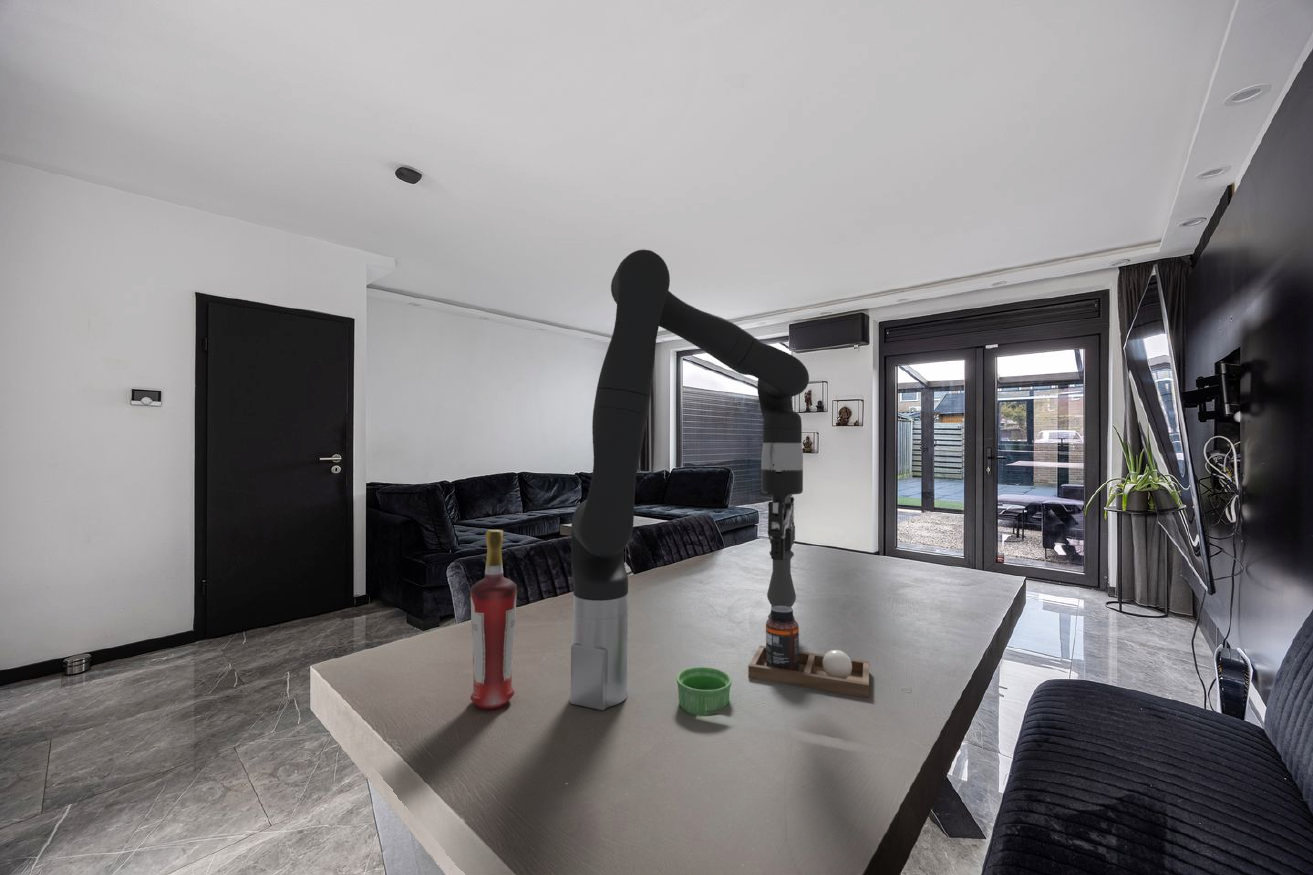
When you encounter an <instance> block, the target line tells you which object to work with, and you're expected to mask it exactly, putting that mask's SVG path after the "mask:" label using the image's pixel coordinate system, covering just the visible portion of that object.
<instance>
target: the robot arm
mask: <svg viewBox="0 0 1313 875" xmlns="http://www.w3.org/2000/svg"><path fill="white" fill-rule="evenodd" d="M670 282H671V278H670V271H669V268H668V265H667V264H666V261H665V260H664V259H663V257H662V256H661V255H660V254H658V253H657V252H656V251H653V250H651V249H645V248H642V249H638V250H635V251H633V252H631V253H630V254H628V255H627V256H625V257H624V258H623V260H622V261H621V262H620V263H619V264H618V267H617V269H616V271H615V272H614V275H613V277H612V279H611V284H610V291H611V292H610V293H611V296H612V298H613V301H614V302H615V304H616V313H615V322H614V327H613V332H612V335H611V338H610V342H609V345H608V347H607V350H606V353H605V355H604V359H603V361H602V362H603V363H602V366H601V369H600V373H599V378H598V382H597V387H596V390H595V398H594V404H593V410H592V411H593V412H592V421H591V422H592V423H591V424H592V426H591V428H592V429H591V430H592V452H593V453H592V454H593V467H592V468H593V469H592V475H591V480H590V485H589V490H588V493H587V498H586V499H585V500H584V501H582V502H581V503H580V504H578V506H577V507H576V509H575V511H574V513H573V515H572V519H571V528H570V529H571V531H570V535H571V536H570V538H571V540H570V542H571V543H570V545H571V547H570V550H571V551H570V553H571V576H572V582H573V583H572V584H573V588H572V589H573V592H572V594H573V595H572V596H573V606H572V607H573V609H572V612H573V614H572V616H573V617H572V644H571V646H570V696H569V698H570V700H569V702H570V704H572V705H577V706H581V707H584V708H585V707H586V708H589V709H596V710H600V711H605V710H606V709H607V708H611V707H612V706H613V707H614V706H617V705H619V704H621V703H623V701H625V700H626V699H627V697H628V659H629V658H628V652H629V651H628V649H629V647H628V645H629V643H628V642H629V640H628V639H629V635H628V634H629V632H628V631H629V630H628V629H629V624H628V623H629V578H628V573H627V570H626V565H625V559H624V557H625V556H624V555H625V554H624V553H625V551H624V549H625V548H626V547H627V546H628V544H629V542H630V540H631V538H632V535H633V531H634V523H635V521H634V519H635V496H636V481H637V473H638V468H639V462H640V457H641V454H642V448H643V443H644V437H645V430H646V424H647V420H648V415H649V408H650V401H651V394H652V386H653V377H654V368H655V361H656V360H655V357H656V348H657V347H656V346H657V345H656V344H657V337H658V332H659V328H662V329H664V330H666V331H668V332H670V333H672V334H673V335H676V336H678V337H679V338H681V339H683V340H685V341H687V342H689V343H690V344H692V345H693V346H696V347H697V348H699V349H700V350H702V351H703V352H705V353H706V354H708V355H709V356H711V357H712V358H714V359H716V360H718V362H720V363H721V364H723V365H725V366H726V367H727V368H729V369H731V370H733V371H734V372H735V373H738V374H741V375H744V376H752V377H754V378H756V379H757V385H756V386H757V389H756V390H757V397H758V402H759V407H760V412H761V416H762V428H763V429H762V450H761V458H760V459H761V461H760V462H761V465H760V466H761V471H760V473H761V475H760V476H761V477H760V479H761V484H760V485H761V488H760V489H761V492H762V493H764V494H771V495H772V501H769V502H768V503H767V506H768V512H767V513H768V515H767V516H768V517H767V518H768V520H767V535H768V537H769V536H770V538H771V543H770V551H771V555H770V558H771V559H772V561H773V560H783V559H784V551H787V552H789V551H790V550H791V551H792V548H791V532H790V531H792V530H793V526H794V525H795V522H794V520H795V519H794V518H795V514H794V513H795V512H794V510H795V503H794V502H795V497H794V496H793V495H800V494H802V493H803V492H804V453H803V452H804V451H803V447H802V446H803V444H802V443H803V442H802V436H803V435H802V433H803V432H802V430H803V428H802V427H803V426H802V417H801V415H800V414H799V413H798V412H796V411H795V410H794V408H793V400H792V397H797V396H798V395H800V394H802V393H803V392H804V391H805V390H806V389H807V387H808V385H809V381H810V376H809V372H808V369H807V367H806V366H805V364H804V363H803V362H802V361H801V360H800V359H798V358H797V357H795V356H794V355H792V354H790V353H788V352H786V351H784V350H781V349H779V348H777V347H775V346H773V345H769V344H767V343H764V342H762V341H760V340H759V339H758V338H756V337H755V336H753V335H752V334H751V333H749V332H748V331H746V330H744V328H742V327H740V326H739V325H737V324H735V323H734V322H733V321H730V320H728V319H726V318H724V317H721V316H719V315H716V314H714V313H711V312H708V311H705V310H703V309H700V308H699V307H698V308H697V307H696V306H693V305H691V304H689V303H687V302H686V301H684V300H682V299H680V298H679V297H678V296H676V295H674V294H673V293H672V292H671V291H670V290H669V288H670V285H671V284H670ZM775 528H778V529H779V530H776V529H775Z"/></svg>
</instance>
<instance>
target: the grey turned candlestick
mask: <svg viewBox="0 0 1313 875" xmlns="http://www.w3.org/2000/svg"><path fill="white" fill-rule="evenodd" d="M775 529H776V530H779V529H778V528H775ZM790 532H791V550H790V551H789V552H787V551H784V559H783V560H773V559H772V573H771V575H770V576H771V577H770V581H769V586H768V590H767V595H766V596H767V597H766V598H767V600H768V602H769V604H770V605H771V606H770V609H771V608H772V607H774V606H787V607H790V608H792V607H793V606H794V604H795V602H796V599H797V595H796V590H795V586H794V582H793V577H792V572H791V571H792V570H791V568H792V566H791V564H792V563H791V562H792V561H791V559H792V558H793V557H794V555H795V554H794V552H793V551H792V547H793V545H794V543H795V542H794V541H796V525H795V524H794V526H793V530H792V531H790ZM768 540H769V543H770V544H771V538H770V536H768ZM769 556H771V550H770V551H769ZM769 618H771V611H770V612H769V614H768V616H767V619H769ZM793 619H794V620H795V621H796V618H795V616H794V615H793Z"/></svg>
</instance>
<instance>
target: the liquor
mask: <svg viewBox="0 0 1313 875" xmlns="http://www.w3.org/2000/svg"><path fill="white" fill-rule="evenodd" d="M503 542H504V530H503V529H490V530H489V529H488V530H485V543H486V549H487V552H486V559H485V561H486V562H485V569H484V578H482V579H480V580H478V581H476V583H474V584H473V585H472V586H471V587H470V593H469V594H470V621H471V622H470V623H471V625H470V626H471V636H472V637H471V638H472V639H471V640H472V667H473V668H472V669H473V670H472V672H473V676H472V678H473V683H472V684H473V685H472V686H473V691H472V692H471V695H470V701H471V702H473V704H474V705H476V706H477V707H478V708H480V709H481V710H489V711H490V710H496V709H499V708H502V707H503V706H505V705H506V704H507V703H508V702H509V701H510V700H511V699H512V698H513V696H514V695H515V690H514V688H513V687H512V686H513V685H512V681H513V660H514V657H513V656H514V655H513V654H514V641H515V640H514V639H515V638H514V636H515V625H516V612H517V610H516V608H517V589H518V584H516V582H514V581H513V580H512V579H510V578H507V577H504V568H503V566H504V565H503V557H502V554H503V553H502V548H503Z"/></svg>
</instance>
